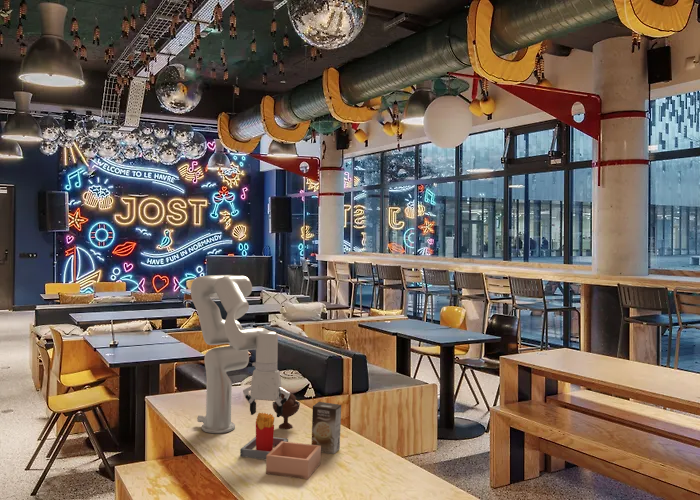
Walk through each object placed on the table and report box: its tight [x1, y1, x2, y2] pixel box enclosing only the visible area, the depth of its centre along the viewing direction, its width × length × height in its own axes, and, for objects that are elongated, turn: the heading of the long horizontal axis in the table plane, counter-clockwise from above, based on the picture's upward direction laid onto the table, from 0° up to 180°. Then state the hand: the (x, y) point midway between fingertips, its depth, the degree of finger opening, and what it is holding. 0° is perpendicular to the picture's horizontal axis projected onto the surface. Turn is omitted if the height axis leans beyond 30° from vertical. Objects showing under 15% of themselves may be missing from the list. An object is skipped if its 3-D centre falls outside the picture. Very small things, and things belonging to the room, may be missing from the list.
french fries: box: [255, 412, 275, 452], centre depth 221 cm, size 9×4×13 cm, turn 41°
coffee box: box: [311, 401, 342, 455], centre depth 224 cm, size 9×6×16 cm
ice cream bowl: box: [272, 389, 301, 430], centre depth 247 cm, size 11×11×15 cm
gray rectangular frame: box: [239, 436, 289, 460], centre depth 221 cm, size 12×15×2 cm
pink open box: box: [265, 441, 322, 480], centre depth 206 cm, size 14×14×6 cm
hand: (266, 415), depth 220 cm, fingers open, 9 cm apart
